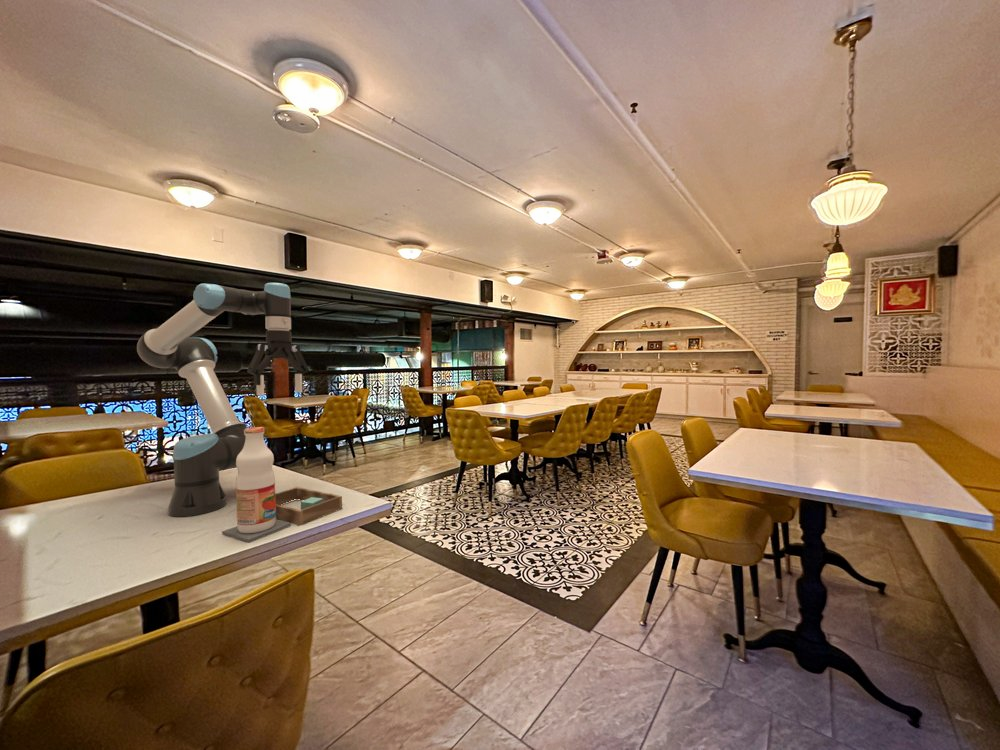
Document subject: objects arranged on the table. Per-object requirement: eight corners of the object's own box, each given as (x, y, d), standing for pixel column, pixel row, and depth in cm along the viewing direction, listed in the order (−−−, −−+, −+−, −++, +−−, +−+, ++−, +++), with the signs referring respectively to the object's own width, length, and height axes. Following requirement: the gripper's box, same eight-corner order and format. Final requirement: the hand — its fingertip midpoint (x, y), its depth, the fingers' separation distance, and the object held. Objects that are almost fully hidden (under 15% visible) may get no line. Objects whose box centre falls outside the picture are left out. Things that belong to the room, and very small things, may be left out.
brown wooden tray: (254, 513, 127) (253, 500, 126) (297, 498, 140) (297, 487, 140) (300, 525, 116) (299, 511, 116) (342, 508, 130) (341, 496, 130)
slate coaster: (222, 534, 111) (222, 531, 111) (265, 519, 122) (265, 516, 122) (248, 542, 105) (248, 539, 105) (290, 526, 116) (290, 523, 116)
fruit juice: (240, 524, 116) (237, 427, 115) (277, 518, 120) (274, 424, 119) (234, 536, 107) (231, 432, 106) (274, 530, 111) (272, 429, 110)
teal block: (301, 516, 124) (300, 501, 124) (312, 511, 128) (311, 497, 128) (312, 517, 122) (312, 503, 122) (323, 512, 127) (323, 498, 126)
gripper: (247, 327, 122) (249, 397, 123) (318, 332, 144) (320, 391, 145) (233, 328, 125) (235, 396, 126) (304, 333, 147) (306, 391, 148)
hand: (280, 393), depth 135 cm, fingers open, 13 cm apart
